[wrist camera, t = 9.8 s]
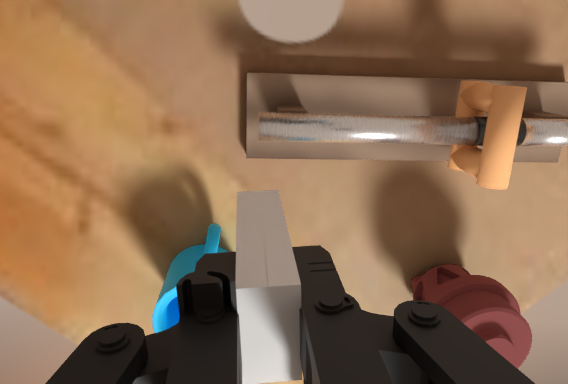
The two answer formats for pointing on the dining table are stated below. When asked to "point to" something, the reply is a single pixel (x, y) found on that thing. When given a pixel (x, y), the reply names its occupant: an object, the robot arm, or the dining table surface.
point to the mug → (179, 267)
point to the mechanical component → (478, 308)
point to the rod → (400, 129)
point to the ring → (489, 131)
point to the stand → (382, 112)
